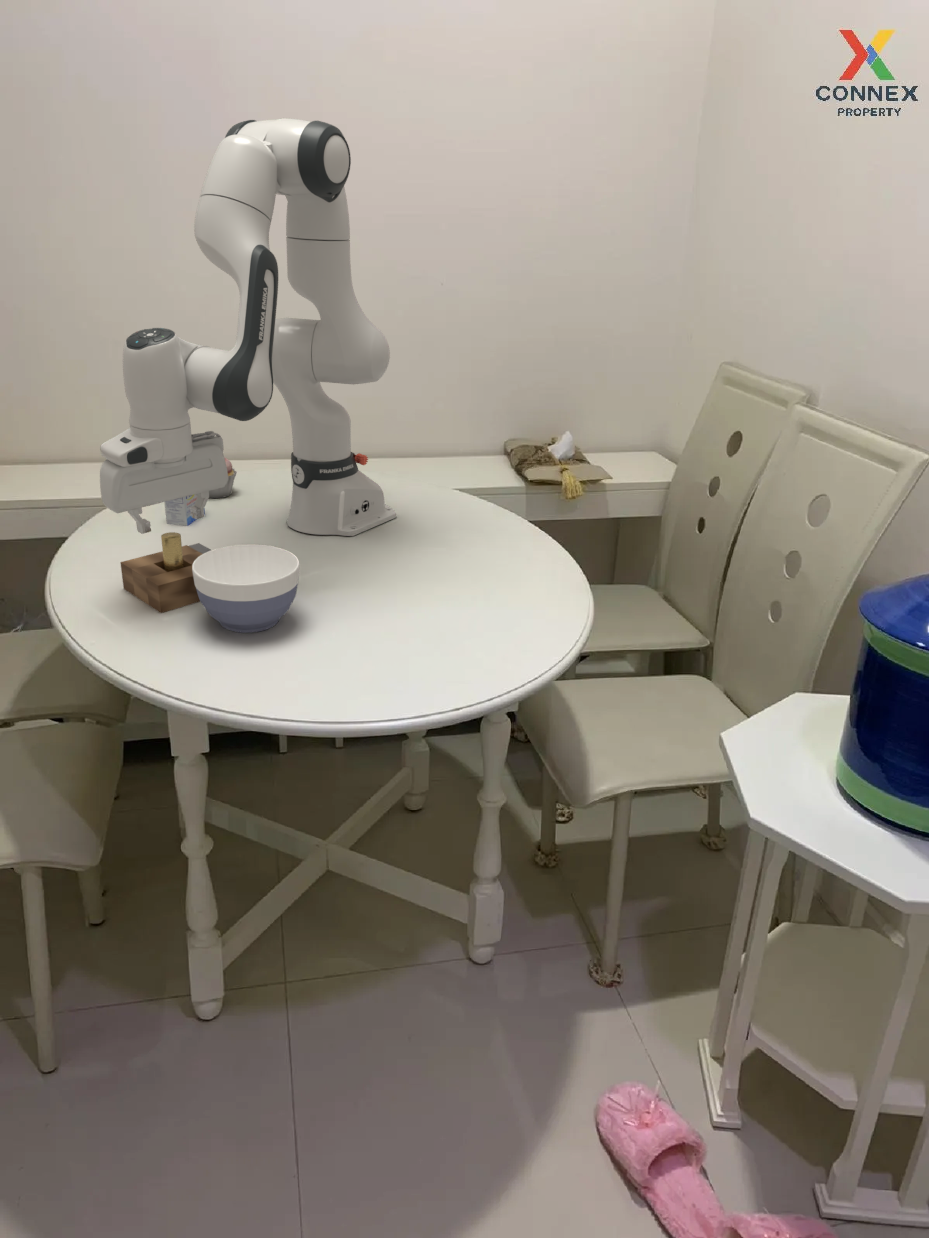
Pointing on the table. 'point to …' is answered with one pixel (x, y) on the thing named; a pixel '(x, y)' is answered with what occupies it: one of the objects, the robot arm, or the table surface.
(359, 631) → the table surface
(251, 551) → the bowl
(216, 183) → the robot arm
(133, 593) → the hole block
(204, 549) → the rubber mat
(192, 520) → the medicine box
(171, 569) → the brass peg
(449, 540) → the table surface
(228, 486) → the cupcake
